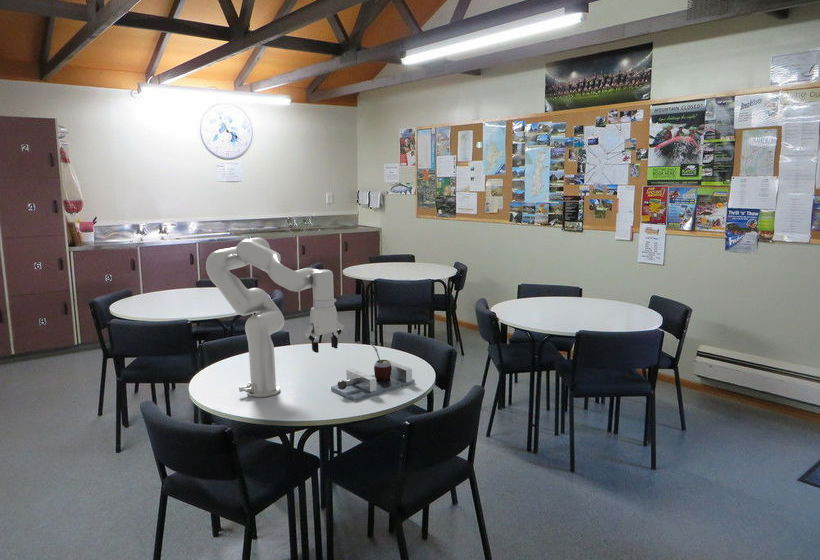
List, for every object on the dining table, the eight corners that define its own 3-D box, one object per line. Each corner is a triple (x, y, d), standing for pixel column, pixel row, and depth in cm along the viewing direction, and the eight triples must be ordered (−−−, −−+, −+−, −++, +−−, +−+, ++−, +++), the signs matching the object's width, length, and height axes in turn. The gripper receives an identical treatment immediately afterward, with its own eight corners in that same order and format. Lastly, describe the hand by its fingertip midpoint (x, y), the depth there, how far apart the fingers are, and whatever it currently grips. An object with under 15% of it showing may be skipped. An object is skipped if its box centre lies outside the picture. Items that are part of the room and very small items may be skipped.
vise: (354, 401, 217) (353, 384, 216) (331, 390, 229) (330, 374, 228) (414, 383, 236) (414, 368, 235) (390, 373, 248) (390, 359, 247)
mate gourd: (393, 382, 233) (393, 346, 231) (374, 384, 231) (373, 348, 228) (389, 376, 240) (388, 341, 238) (370, 378, 238) (369, 343, 235)
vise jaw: (350, 397, 215) (349, 385, 215) (327, 386, 228) (326, 375, 227) (376, 390, 223) (376, 378, 222) (352, 379, 235) (352, 368, 235)
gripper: (337, 298, 221) (339, 343, 224) (297, 305, 210) (299, 352, 213) (349, 301, 215) (350, 347, 218) (308, 308, 204) (309, 356, 207)
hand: (325, 349), depth 215 cm, fingers open, 7 cm apart
